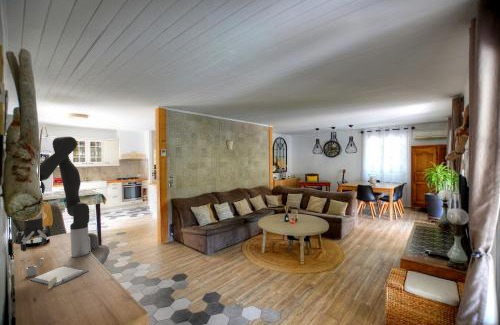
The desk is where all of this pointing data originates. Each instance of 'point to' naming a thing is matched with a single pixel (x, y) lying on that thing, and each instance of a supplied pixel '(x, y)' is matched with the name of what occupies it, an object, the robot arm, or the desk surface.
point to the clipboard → (60, 275)
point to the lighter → (33, 268)
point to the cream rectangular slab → (52, 282)
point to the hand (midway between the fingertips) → (34, 248)
